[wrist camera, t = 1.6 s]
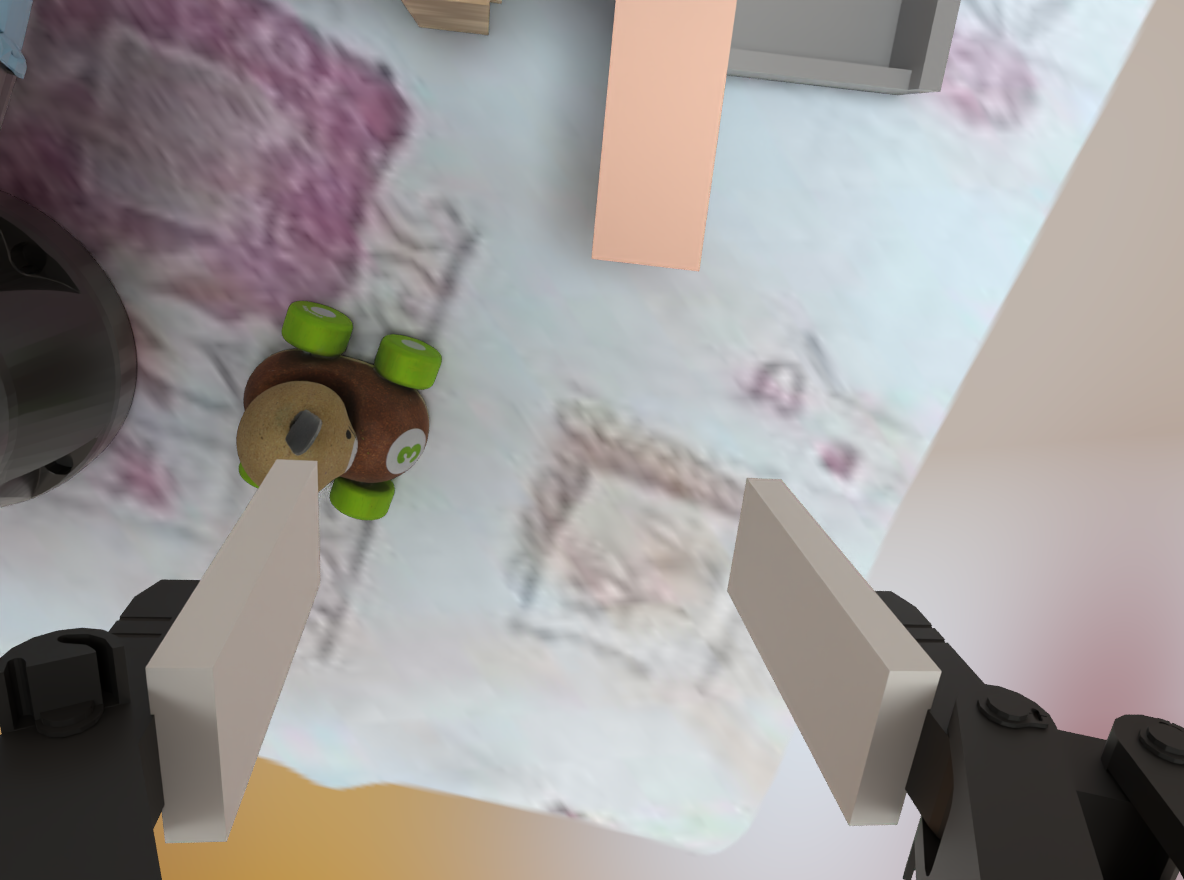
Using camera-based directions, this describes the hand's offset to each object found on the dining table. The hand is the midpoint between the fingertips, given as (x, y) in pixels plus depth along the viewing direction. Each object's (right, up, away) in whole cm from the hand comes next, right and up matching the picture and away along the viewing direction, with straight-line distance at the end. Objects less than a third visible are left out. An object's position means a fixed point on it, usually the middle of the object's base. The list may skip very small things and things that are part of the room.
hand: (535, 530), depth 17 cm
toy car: (-11, +4, +25) cm, 28 cm away
